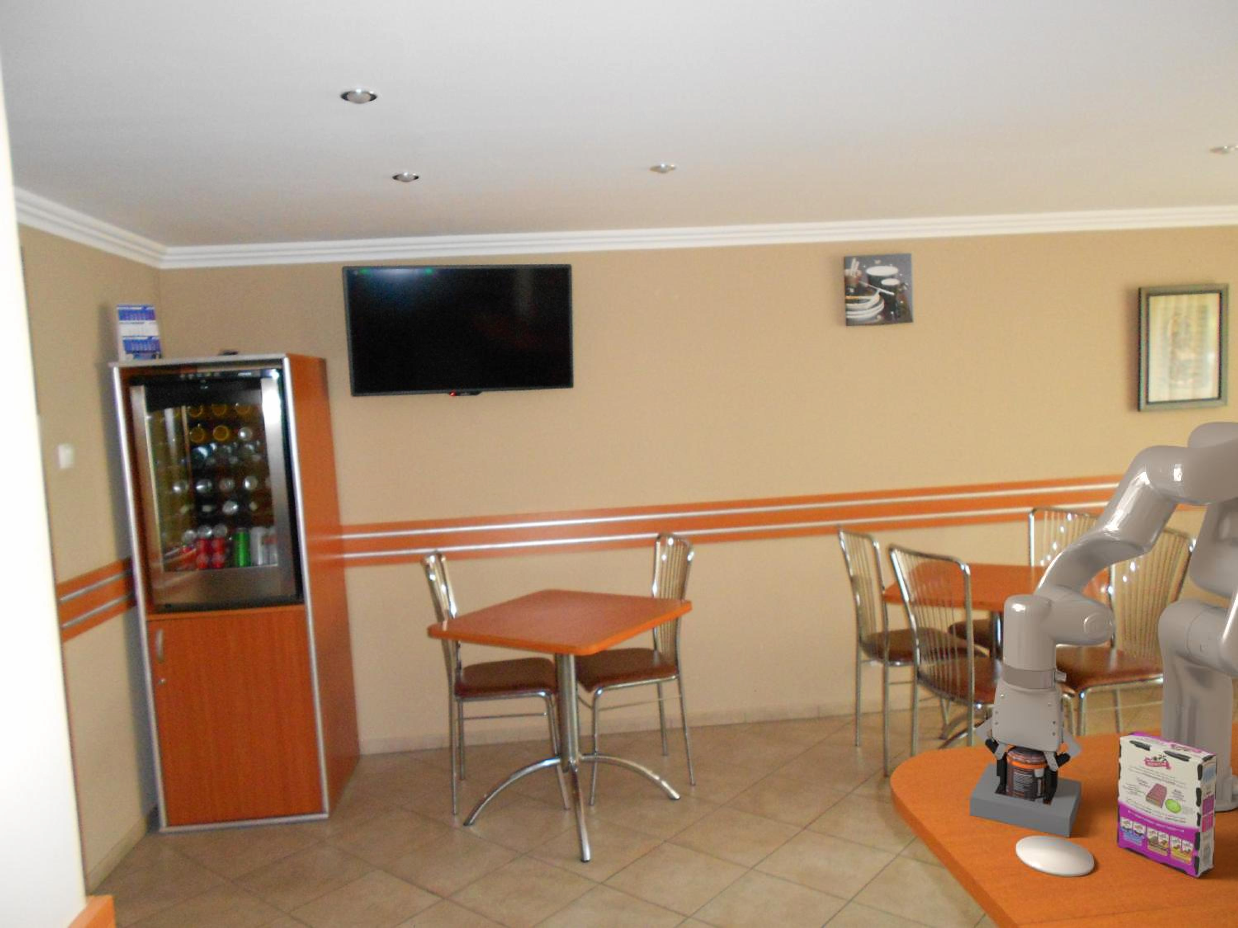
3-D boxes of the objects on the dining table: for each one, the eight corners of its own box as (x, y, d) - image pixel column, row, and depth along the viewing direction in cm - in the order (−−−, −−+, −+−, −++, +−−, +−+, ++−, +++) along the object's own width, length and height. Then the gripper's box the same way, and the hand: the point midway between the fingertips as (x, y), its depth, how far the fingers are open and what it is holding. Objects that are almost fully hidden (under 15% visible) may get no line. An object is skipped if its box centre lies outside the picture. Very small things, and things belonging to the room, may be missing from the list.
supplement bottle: (1051, 817, 142) (1052, 746, 141) (1010, 814, 143) (1011, 744, 142) (1041, 799, 148) (1043, 731, 146) (1002, 797, 149) (1003, 729, 148)
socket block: (1081, 799, 147) (1081, 781, 147) (1068, 837, 136) (1069, 818, 135) (988, 780, 155) (988, 762, 155) (969, 814, 143) (969, 796, 143)
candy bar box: (1215, 868, 127) (1220, 753, 125) (1197, 879, 124) (1202, 762, 122) (1132, 835, 136) (1136, 728, 134) (1114, 845, 133) (1117, 736, 131)
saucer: (1097, 850, 132) (1097, 846, 132) (1089, 884, 123) (1089, 879, 123) (1022, 833, 137) (1022, 829, 137) (1009, 863, 129) (1009, 859, 129)
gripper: (1093, 677, 141) (1090, 789, 143) (976, 660, 151) (974, 765, 153) (1087, 691, 135) (1084, 809, 137) (965, 673, 145) (963, 783, 146)
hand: (1026, 785), depth 145 cm, fingers closed on supplement bottle, 6 cm apart
